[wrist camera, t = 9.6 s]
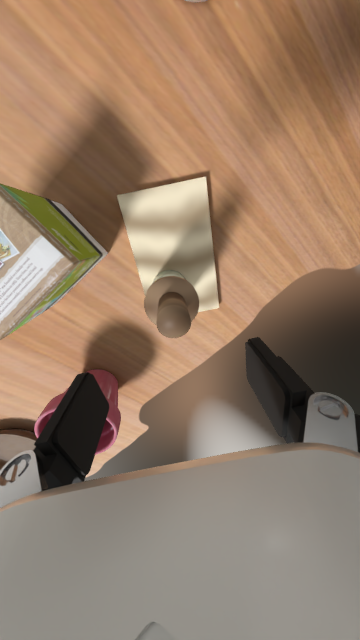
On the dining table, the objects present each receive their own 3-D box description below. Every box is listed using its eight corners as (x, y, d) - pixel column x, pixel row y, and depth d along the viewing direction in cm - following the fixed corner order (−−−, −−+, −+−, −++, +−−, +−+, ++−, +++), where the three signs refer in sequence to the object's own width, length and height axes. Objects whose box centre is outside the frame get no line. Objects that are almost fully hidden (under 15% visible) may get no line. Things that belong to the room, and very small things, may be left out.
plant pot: (135, 367, 43) (124, 415, 32) (122, 407, 48) (109, 461, 37) (71, 353, 40) (34, 400, 29) (65, 397, 46) (32, 452, 34)
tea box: (58, 304, 35) (-6, 346, 22) (8, 264, 32) (-106, 284, 18) (111, 253, 32) (73, 264, 19) (62, 201, 29) (-29, 169, 15)
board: (118, 197, 29) (116, 195, 28) (204, 178, 29) (205, 176, 28) (152, 319, 38) (152, 321, 37) (217, 305, 38) (219, 307, 37)
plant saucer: (14, 472, 57) (6, 485, 54) (-38, 434, 48) (-51, 447, 45) (74, 456, 56) (69, 468, 53) (32, 414, 47) (23, 426, 44)
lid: (138, 282, 26) (129, 297, 19) (193, 270, 25) (203, 282, 19) (152, 330, 29) (148, 357, 22) (201, 320, 29) (211, 344, 22)
